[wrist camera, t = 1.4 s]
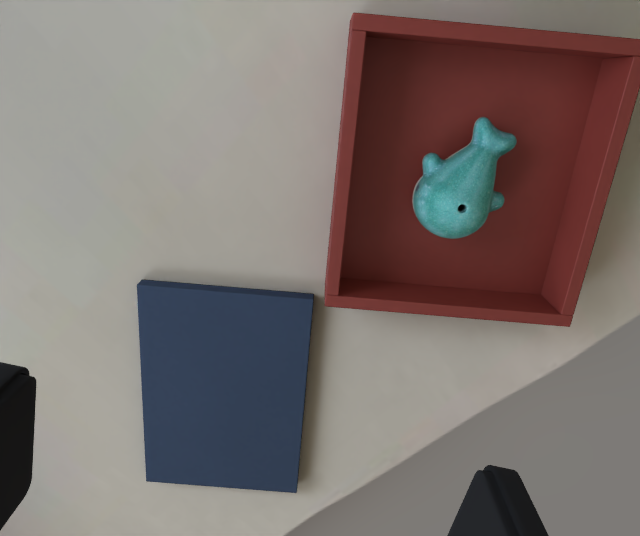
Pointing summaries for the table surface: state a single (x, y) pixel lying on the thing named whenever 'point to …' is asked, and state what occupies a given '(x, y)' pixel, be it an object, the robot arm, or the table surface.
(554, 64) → the bin
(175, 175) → the table surface
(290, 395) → the play mat
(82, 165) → the table surface
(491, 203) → the whale figurine
